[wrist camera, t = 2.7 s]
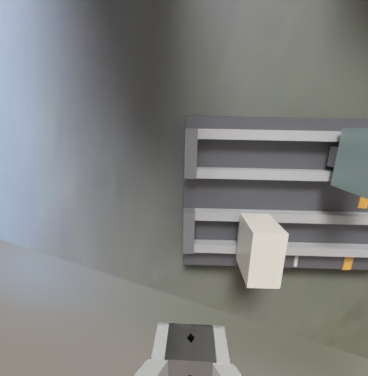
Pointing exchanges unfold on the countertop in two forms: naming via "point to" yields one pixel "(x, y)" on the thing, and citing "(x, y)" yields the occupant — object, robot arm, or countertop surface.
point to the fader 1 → (261, 250)
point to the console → (270, 190)
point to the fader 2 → (351, 161)
